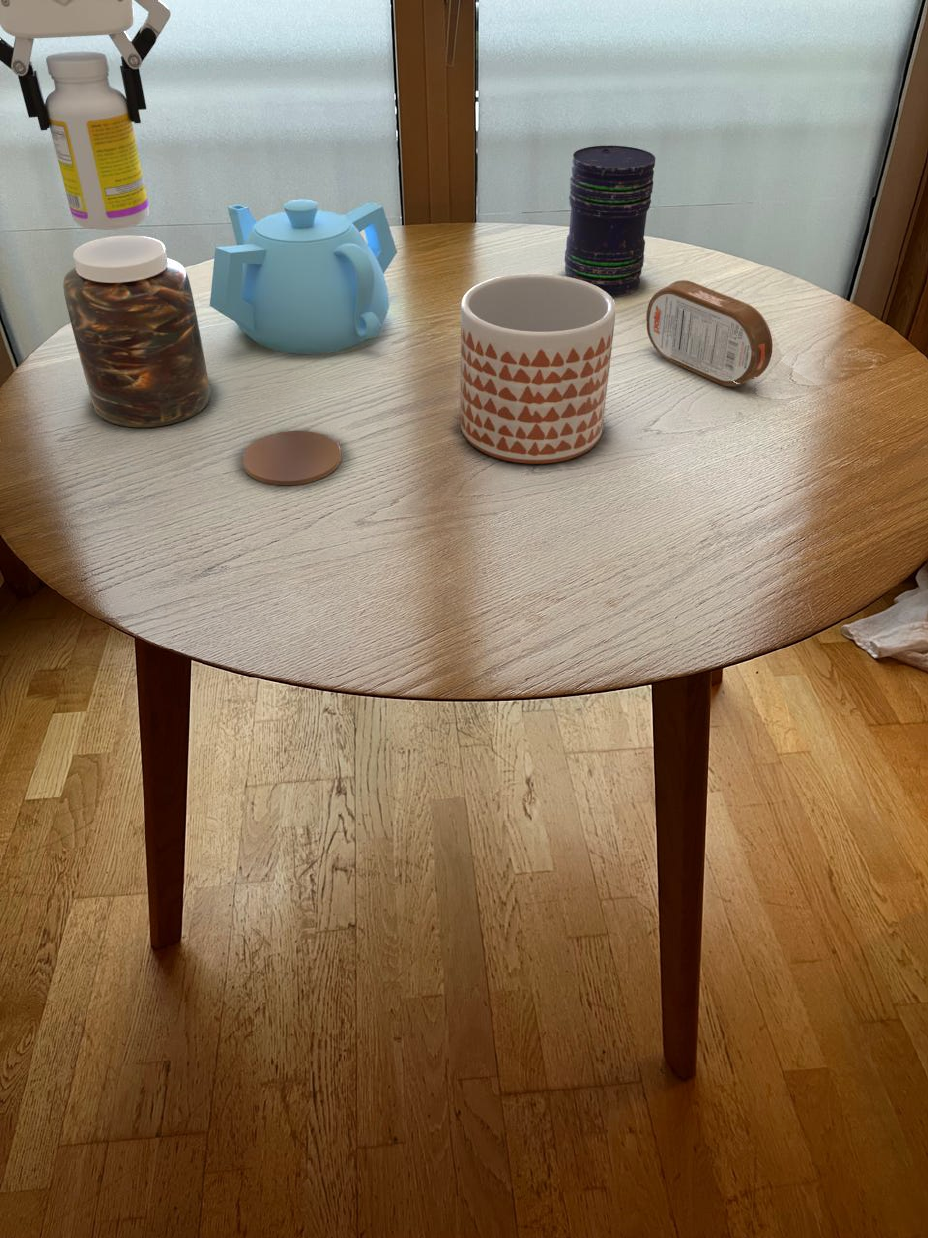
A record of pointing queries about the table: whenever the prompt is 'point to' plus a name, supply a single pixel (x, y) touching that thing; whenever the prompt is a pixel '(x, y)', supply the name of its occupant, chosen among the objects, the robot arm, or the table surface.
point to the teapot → (305, 276)
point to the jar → (136, 332)
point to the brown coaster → (291, 458)
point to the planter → (535, 366)
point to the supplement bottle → (95, 143)
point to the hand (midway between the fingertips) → (90, 120)
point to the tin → (709, 333)
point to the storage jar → (609, 216)
